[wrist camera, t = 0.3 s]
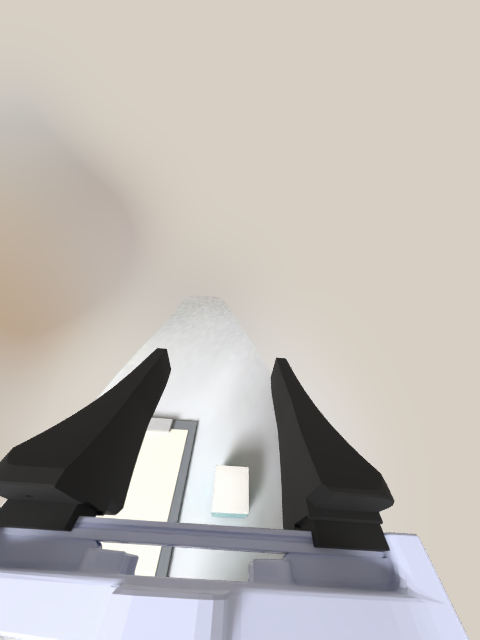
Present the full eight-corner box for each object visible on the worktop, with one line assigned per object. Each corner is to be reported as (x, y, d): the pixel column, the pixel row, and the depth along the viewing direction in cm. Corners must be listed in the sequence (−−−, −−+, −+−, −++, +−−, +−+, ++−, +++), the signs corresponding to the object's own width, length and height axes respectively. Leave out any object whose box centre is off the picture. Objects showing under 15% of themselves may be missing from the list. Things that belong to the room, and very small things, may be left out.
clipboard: (157, 621, 16) (154, 624, 15) (0, 615, 15) (-12, 618, 15) (197, 423, 28) (196, 419, 28) (110, 417, 28) (107, 413, 27)
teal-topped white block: (243, 519, 21) (248, 513, 18) (211, 517, 21) (211, 511, 18) (244, 478, 24) (248, 467, 21) (215, 476, 24) (216, 465, 21)
